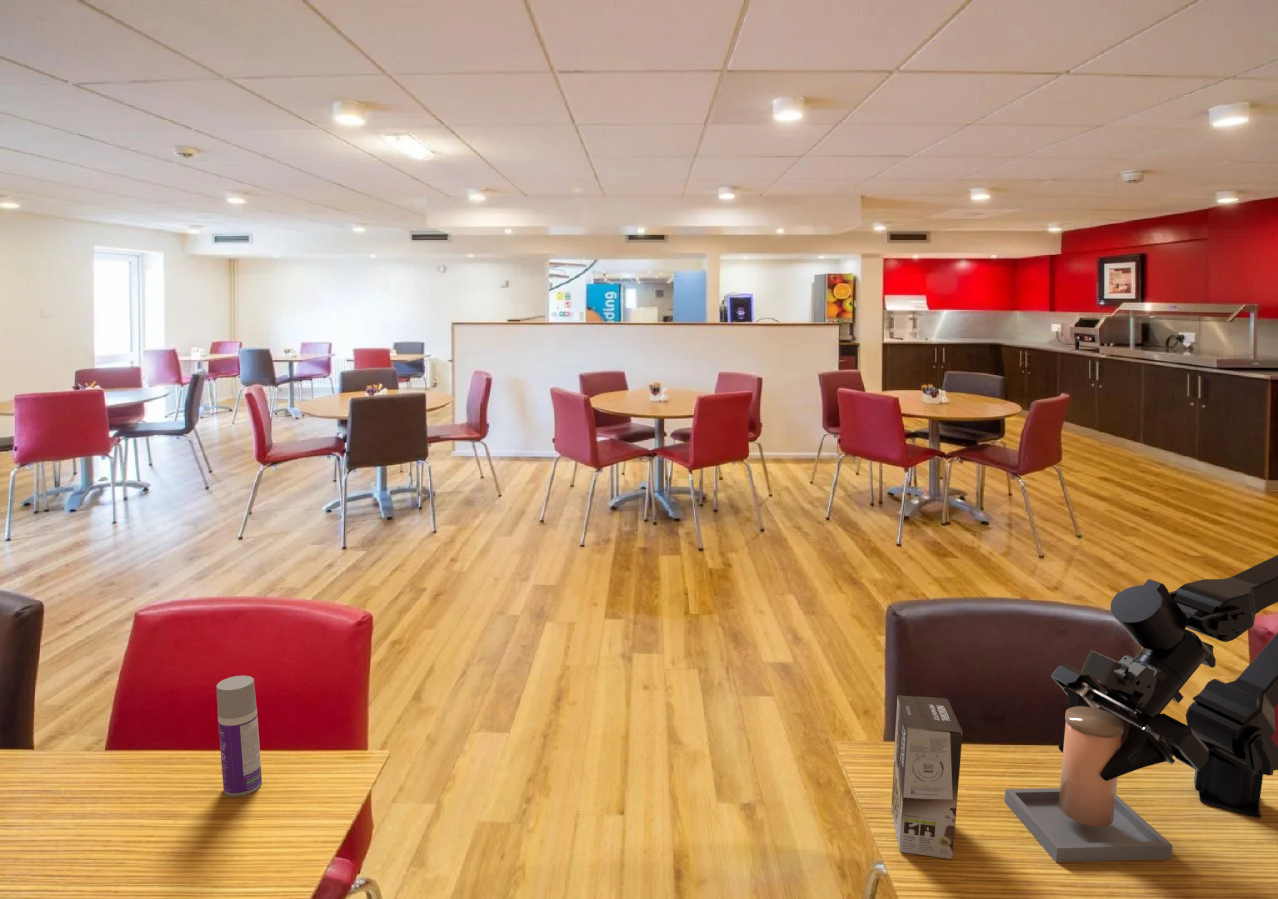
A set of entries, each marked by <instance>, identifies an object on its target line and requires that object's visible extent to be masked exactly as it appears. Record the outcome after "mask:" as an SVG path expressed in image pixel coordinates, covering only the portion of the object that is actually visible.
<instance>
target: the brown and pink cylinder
mask: <svg viewBox="0 0 1278 899" xmlns="http://www.w3.org/2000/svg"><path fill="white" fill-rule="evenodd" d="M1064 715H1065V718H1064V719H1065V724H1066V725H1065V724H1064V727H1065V737H1064V749H1063V753H1062V763H1061V775H1060V784H1059V785H1060V786H1059V788H1060V795H1059V808H1060V810H1061V811H1062V812H1063V813H1064V814H1065V815H1066V816H1067V817H1069V818H1071V819H1072V820H1074V821H1077V822H1079V823H1082V824H1085V825H1089V826H1097V827H1102V826H1108V825H1110V824H1111V823H1112V822H1113V820H1114V810H1115V799H1116V795H1117V787H1118V778H1119V777H1116V778H1113V779H1111V780H1108V781H1105V780H1103V779H1102V778H1101V776H1100V773H1101V772H1102V770H1103V769H1104V767H1105V765H1106V764H1107V763H1108V762H1109V760H1110V759H1111V758H1112V757H1113V755H1114V754H1115V753H1116V752H1117V751H1118V749H1119V748H1120V747H1121V746H1122V736H1123V733H1124V725H1125V724H1124V721H1123V719H1122V718H1121V717H1119V716H1117V715H1115V714H1113V713H1112V712H1110V711H1108V710H1105V709H1104V710H1103V709H1100V708H1099V709H1097V708H1092V707H1084V706H1077V707H1071V708H1069V707H1068V708H1067V709H1066V711H1065V714H1064Z"/></svg>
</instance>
